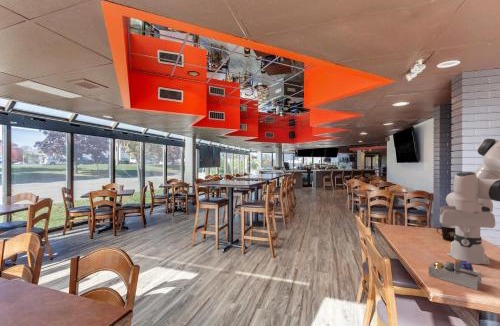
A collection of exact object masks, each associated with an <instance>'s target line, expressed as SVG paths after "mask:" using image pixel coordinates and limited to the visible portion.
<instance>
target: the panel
mask: <svg viewBox="0 0 500 326" xmlns="http://www.w3.org/2000/svg"><path fill="white" fill-rule="evenodd" d="M435 262H436V261H433V262H432V263H431V264H429V266H428V276H430V277H433V278H435V279H439V280H442V281H446V282H449V283H453V284H456V285H458V286H463V287H466V288H469V289H473V290H475V291H478V289H479V288H480V286H481V284H482V273H481V272H479V273H477V272H478V271H477V272H473V271H470V270H466V269H462V268H461V270H460V271H459V272H458V271H455V267H454V271H451V270H448V269H446V263H442V264H443V268H440V267H436V266H435Z"/></svg>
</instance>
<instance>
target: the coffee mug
mask: <svg viewBox="0 0 500 326" xmlns="http://www.w3.org/2000/svg"><path fill="white" fill-rule="evenodd" d="M439 229H441V233H440V232H439V231H438V230H439ZM436 232H437V233H438V234H439V235H440V236H441V237H442V240H443V241H446V242H453V241H454V240H455V239H454V234H455V226H449V225H443V224H441V225H440V227H437V228H436Z"/></svg>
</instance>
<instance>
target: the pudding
mask: <svg viewBox="0 0 500 326" xmlns="http://www.w3.org/2000/svg"><path fill="white" fill-rule="evenodd" d="M454 267H455V265H454ZM461 268H462V269H466V270H470V271H473V272H477V273H480V272H479V271H477V270H475V269H474V268H473V264H472V263H470V262H467V261H463V260H461Z"/></svg>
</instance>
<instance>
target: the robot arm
mask: <svg viewBox="0 0 500 326" xmlns="http://www.w3.org/2000/svg"><path fill="white" fill-rule="evenodd" d="M477 154H479V155H480V156H482V157H483V160H482V161H483V162H482V163H481V164H480V165H479V166H478V168H476V170H475V171H474V172H473V171H461V172H458V173H455V175H454V179H453V192H452V191H451V192H450V193H448V194H447V195H446V197H445V202H446V204H447V205H442V206H441V207H439V224H441V225H449V226H455V234H454V241H450V252H447V254H446V255H447V256H448V257H451V258H453V259H454V260H456V259H459V260H463V261H467V262H470V263H471V264H472V265H473V264H474V265H487V266H490V265H491V262H490V259H489V257H488V255H487V254H486V253H485V248H484V246H483V245H482V243H483V242H482V241H483V240H482V237H481V228H485V229H493V228H495V227H496V218H495V215H494V213H493V212H494V211H493V210H494V203H493V201H495V202H500V140H497V139H495V138H485V139H484V140H482V141H481V142H480V143H479V144H478V146H477Z"/></svg>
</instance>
